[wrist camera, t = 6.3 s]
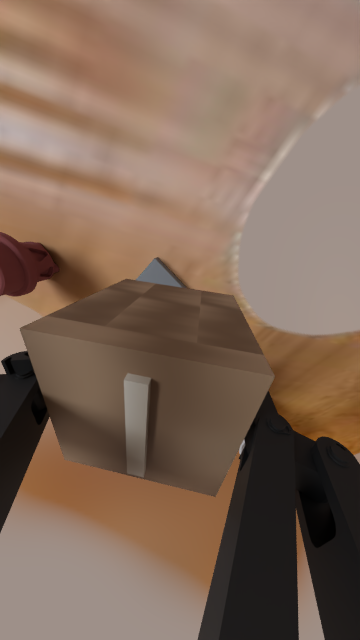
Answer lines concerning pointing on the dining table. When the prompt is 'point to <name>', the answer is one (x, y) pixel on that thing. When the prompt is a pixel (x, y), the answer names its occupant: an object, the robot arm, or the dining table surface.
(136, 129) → the dining table surface
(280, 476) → the robot arm
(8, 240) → the mechanical component
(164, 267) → the shaft stand
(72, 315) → the cardboard box
